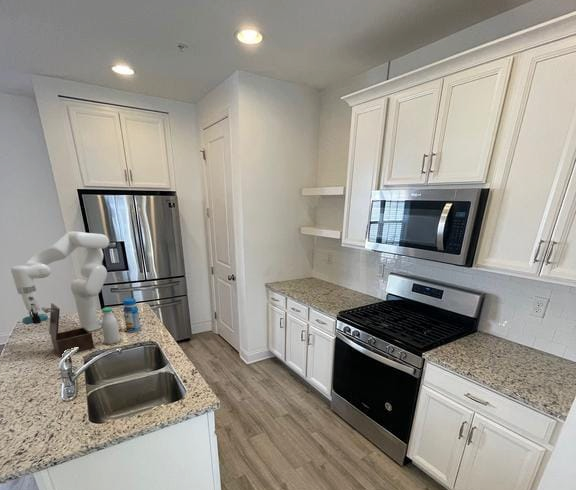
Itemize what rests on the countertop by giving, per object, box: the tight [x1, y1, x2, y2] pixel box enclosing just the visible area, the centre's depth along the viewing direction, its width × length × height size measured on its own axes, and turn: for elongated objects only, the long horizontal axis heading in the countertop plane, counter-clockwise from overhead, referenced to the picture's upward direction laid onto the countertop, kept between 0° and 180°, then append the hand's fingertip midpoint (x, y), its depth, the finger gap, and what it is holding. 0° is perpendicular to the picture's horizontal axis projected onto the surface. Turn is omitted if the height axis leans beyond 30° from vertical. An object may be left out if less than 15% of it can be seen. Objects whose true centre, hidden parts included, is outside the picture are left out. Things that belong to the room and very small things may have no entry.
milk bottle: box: [101, 307, 121, 345], centre depth 174 cm, size 8×8×20 cm
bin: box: [50, 327, 95, 358], centre depth 166 cm, size 16×13×9 cm
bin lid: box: [41, 302, 61, 341], centre depth 156 cm, size 16×13×5 cm
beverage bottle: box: [122, 297, 142, 333], centre depth 192 cm, size 8×8×20 cm
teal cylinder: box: [21, 313, 49, 325], centre depth 167 cm, size 11×4×4 cm, turn 138°
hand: (36, 321), depth 167 cm, fingers closed on teal cylinder, 4 cm apart
